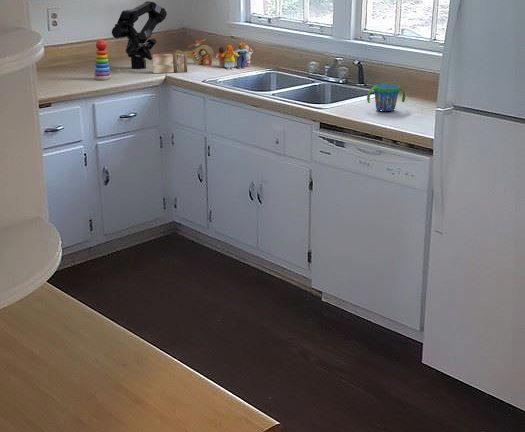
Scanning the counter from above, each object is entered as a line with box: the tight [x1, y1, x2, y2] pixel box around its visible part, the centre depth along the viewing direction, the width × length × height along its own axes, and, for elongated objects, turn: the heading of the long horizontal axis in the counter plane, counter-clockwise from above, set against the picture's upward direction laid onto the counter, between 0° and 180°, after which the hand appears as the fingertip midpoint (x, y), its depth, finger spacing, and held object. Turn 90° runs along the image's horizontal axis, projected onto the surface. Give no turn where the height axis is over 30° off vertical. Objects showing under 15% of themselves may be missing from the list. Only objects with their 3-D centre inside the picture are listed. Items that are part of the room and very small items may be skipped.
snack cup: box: [366, 83, 406, 111], centre depth 330 cm, size 16×10×10 cm
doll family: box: [215, 42, 254, 71], centre depth 415 cm, size 21×10×13 cm, turn 115°
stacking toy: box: [93, 39, 112, 81], centre depth 388 cm, size 8×8×19 cm
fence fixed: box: [177, 53, 188, 73], centre depth 403 cm, size 4×2×9 cm, turn 105°
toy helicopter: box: [173, 38, 214, 67], centre depth 423 cm, size 8×21×14 cm, turn 97°
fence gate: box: [151, 52, 179, 74], centre depth 401 cm, size 12×2×9 cm, turn 105°
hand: (151, 59), depth 401 cm, fingers closed
